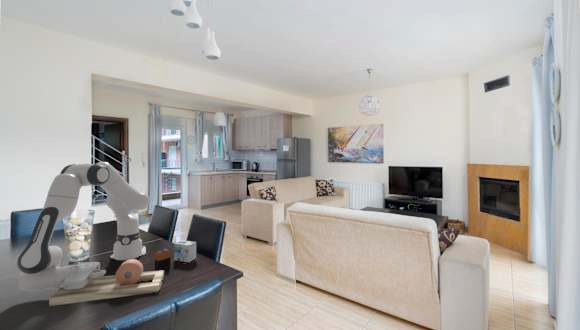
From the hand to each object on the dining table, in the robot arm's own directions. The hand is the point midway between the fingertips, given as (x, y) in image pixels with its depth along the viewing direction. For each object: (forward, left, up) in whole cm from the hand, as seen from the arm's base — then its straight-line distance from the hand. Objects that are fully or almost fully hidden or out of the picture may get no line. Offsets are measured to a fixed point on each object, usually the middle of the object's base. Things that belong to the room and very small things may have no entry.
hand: (104, 272), depth 121 cm
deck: (0, +3, -8) cm, 9 cm away
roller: (0, +10, -1) cm, 10 cm away
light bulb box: (-26, +32, -8) cm, 43 cm away
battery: (-18, +21, -8) cm, 29 cm away
